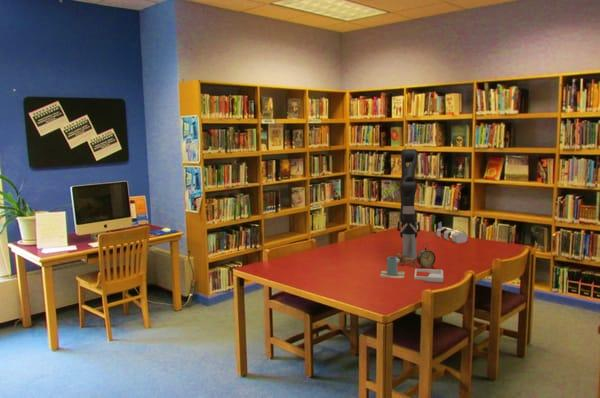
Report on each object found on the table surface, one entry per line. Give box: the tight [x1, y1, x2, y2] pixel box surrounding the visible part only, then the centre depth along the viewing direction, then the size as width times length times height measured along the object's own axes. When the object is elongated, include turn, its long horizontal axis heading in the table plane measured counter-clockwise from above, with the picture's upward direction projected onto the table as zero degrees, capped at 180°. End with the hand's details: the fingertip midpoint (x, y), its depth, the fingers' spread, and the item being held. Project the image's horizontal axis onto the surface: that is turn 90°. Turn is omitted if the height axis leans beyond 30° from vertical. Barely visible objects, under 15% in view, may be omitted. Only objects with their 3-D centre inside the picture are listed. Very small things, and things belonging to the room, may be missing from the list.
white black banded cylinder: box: [436, 221, 468, 244], centre depth 385 cm, size 25×10×13 cm, turn 18°
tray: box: [413, 268, 444, 284], centre depth 291 cm, size 16×16×3 cm
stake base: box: [379, 269, 406, 279], centre depth 296 cm, size 14×14×10 cm
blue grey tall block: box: [386, 256, 400, 276], centre depth 295 cm, size 5×6×10 cm
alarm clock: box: [416, 242, 436, 269], centre depth 309 cm, size 11×5×16 cm, turn 105°
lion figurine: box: [395, 252, 418, 268], centre depth 313 cm, size 15×5×9 cm, turn 66°
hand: (408, 237), depth 320 cm, fingers open, 8 cm apart
